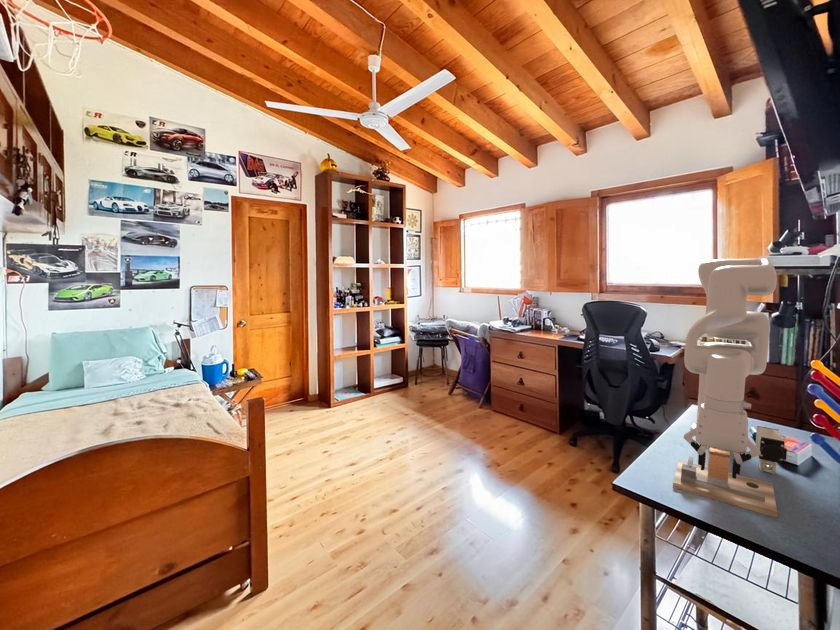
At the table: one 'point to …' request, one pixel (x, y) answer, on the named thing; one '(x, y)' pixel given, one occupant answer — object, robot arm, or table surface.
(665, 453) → the table surface
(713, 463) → the block
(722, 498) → the plate
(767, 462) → the pneumatic valve
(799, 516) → the table surface
